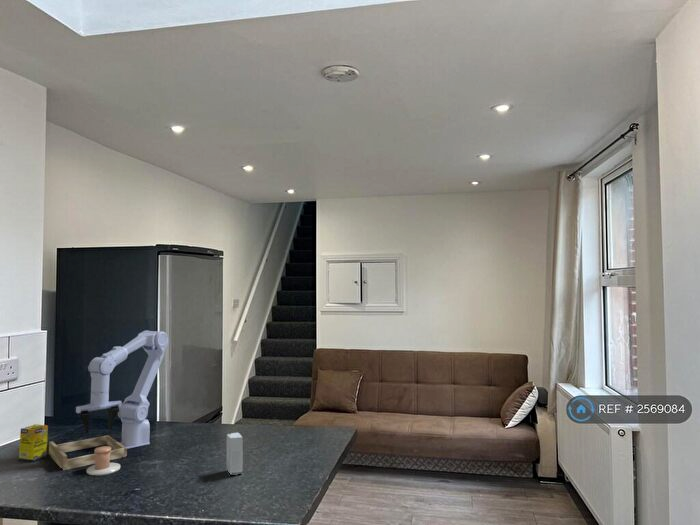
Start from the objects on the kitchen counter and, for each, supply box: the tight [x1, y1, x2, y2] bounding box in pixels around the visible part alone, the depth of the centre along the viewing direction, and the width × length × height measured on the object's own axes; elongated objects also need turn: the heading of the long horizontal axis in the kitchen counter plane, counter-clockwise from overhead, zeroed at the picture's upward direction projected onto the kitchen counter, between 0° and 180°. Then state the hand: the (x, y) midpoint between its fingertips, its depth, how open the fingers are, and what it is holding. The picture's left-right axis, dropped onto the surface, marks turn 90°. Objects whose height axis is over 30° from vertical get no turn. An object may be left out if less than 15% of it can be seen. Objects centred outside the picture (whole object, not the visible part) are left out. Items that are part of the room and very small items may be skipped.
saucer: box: [86, 462, 121, 477], centre depth 161 cm, size 10×10×1 cm
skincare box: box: [226, 432, 244, 474], centre depth 161 cm, size 6×4×12 cm
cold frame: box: [48, 434, 128, 471], centre depth 174 cm, size 20×20×4 cm
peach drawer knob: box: [94, 445, 112, 470], centre depth 161 cm, size 5×5×6 cm
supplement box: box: [18, 423, 49, 463], centre depth 170 cm, size 6×6×11 cm
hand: (98, 430), depth 173 cm, fingers open, 7 cm apart
